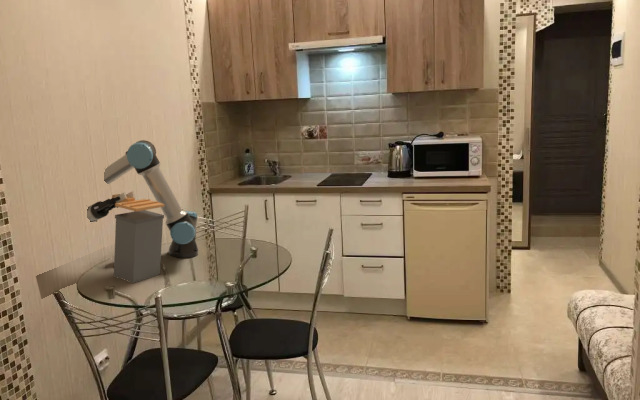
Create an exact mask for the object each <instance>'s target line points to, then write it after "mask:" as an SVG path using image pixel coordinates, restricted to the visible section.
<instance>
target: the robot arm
mask: <svg viewBox="0 0 640 400" xmlns="http://www.w3.org/2000/svg"><path fill="white" fill-rule="evenodd" d="M156 154H157V150H156V147H155V145H154V144H153V143H152V142H151V141H148V140H145V139H143V140H138V141H136V142H134V143H133V144H131V145H130V146H129V147H128V149H127V150H126V152H125V153H124V155H123V156H122V157H120V158H118V159H117V160H115V161H114V162H112V163H111V164H109V165H108V166H107V168H106V167H105V168H106V169H105V168H104V169H105V172H104V181H105V182H106V183H107V184H109V185H110V184H112V183H114V182H115V181H117V180H118V179H119V178H121V177H122V176H124V175H125V174H127V173H128V172H130V171H132V170H133V169H135V171H136V174H138V175H139V176H142V178H143V180H144V181H145V183H146V185H147V186H148V189H150V192H151V193H152V195H153V197H154V199H155V201H158V202H159V203H163V204H165V205H164V207H159V208H160V210H161V212H162V213H163V215H164V218H166V220H165V225H166V226H167V229H168V230H169V234H170V238H171V243H170V246H169V247H168V255H169V256H172V257H175V258H180V259H181V258H182V259H183V258H184V259H186V258H187V259H189V258H194V257H197V256H198V255H199V247H198V244H197V240H196V239H197V224H198V223H197V222H198V214H197V213H198V212H195V211H190V210H183V209H182V206H180V203H179V202H178V200H177V197H176V196H175V195H174V193H173V190H172V188H171V187H170V185H169V183H168V182H167V180H166V177H165V176H164V174H163V172H162V170H161V169H160V165H161V162H160V161H159V158H158V156H157V155H156ZM119 194H120V193H119ZM126 196H129V197H133V198H136V196H135V193H134V191H130V192H128V193H127V194H126V192H125V191H124V192H122V193H121V194H120V195H118V196H116V197H115V198H112V197H111V198H107V199H106V200H103V201H101V200H99V201H97V202H94V203H93V204H90V205H89V206H87V207H88V209H87V218H88V219H89V220H90V222H93V223H95V222H96V223H97V222H98V220H100V219H103V218H105V217H106V216H108V214H109V213H110V211H112V210H113V209H115V208H119V207H117V206H115V203H120V201H122V200H124V199H126V198H127V197H126Z"/></svg>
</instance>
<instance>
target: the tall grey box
mask: <svg viewBox="0 0 640 400" xmlns="http://www.w3.org/2000/svg"><path fill="white" fill-rule="evenodd" d="M164 218H165V215H164V214H160V213H158V212H154V211H150V210H143V211H137V212H136V211H130V212H124V213H118V214H114V219H115V231H114V232H115V233H114V234H115V236H114V237H115V238H114V264H113V277H114V276H115V277H114V278H117V277H118V278H117V279H120V278H123V279H125V280H128V281H130V282H129V283H131V282H132V283H131V284H135V283H139V282H142V281H144V280H147V279H151V278H154V277H156V276H159V275H160V274H161V260H162V258H161V257H162V245H163V244H162V243H163V224H164V223H163V222H164V221H163V220H164ZM125 280H124V281H125ZM128 281H127V282H128Z"/></svg>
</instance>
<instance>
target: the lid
mask: <svg viewBox="0 0 640 400" xmlns="http://www.w3.org/2000/svg"><path fill="white" fill-rule="evenodd" d="M118 195H120V193H118V194H117V193H116V194H111V199H112V198H115V197H116V196H118ZM126 197H127V198H126V199H124V200H122V201H120V203H115V206H117V207H118V208H121V209H124V210H129V211H131V212H134V211H136V212H137V211H143V210H147V211H149V210H153V209H157V208H160V207H164V205H165V204H163V203H159V202H158V201H156V200H155V201H154V200H151V199H150V198H148V199H146V198H142V199H136V197H134V198H133V197H129V196H126ZM117 207H116V208H117Z"/></svg>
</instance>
